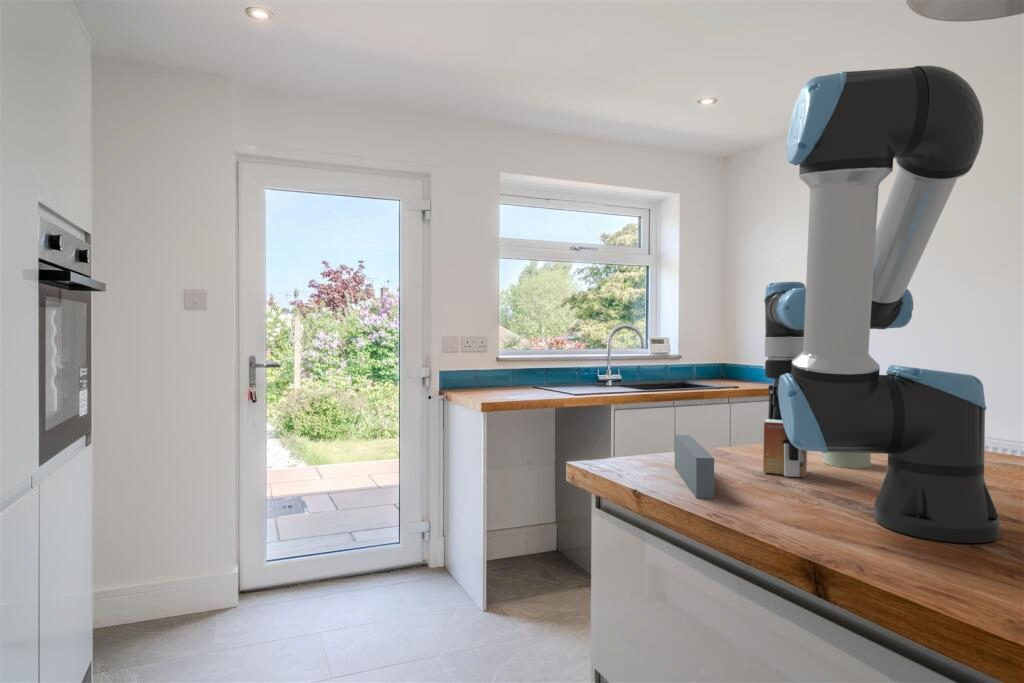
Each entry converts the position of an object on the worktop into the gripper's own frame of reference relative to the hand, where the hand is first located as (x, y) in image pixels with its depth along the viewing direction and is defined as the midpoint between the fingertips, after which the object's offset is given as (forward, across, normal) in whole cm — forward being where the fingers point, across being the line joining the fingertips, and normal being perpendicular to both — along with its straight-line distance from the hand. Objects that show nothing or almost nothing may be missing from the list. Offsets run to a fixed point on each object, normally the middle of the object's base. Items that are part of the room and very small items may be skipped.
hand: (785, 471), depth 125 cm
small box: (0, 0, 0) cm, 0 cm away
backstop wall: (0, -9, +20) cm, 22 cm away
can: (+1, +10, -16) cm, 19 cm away
